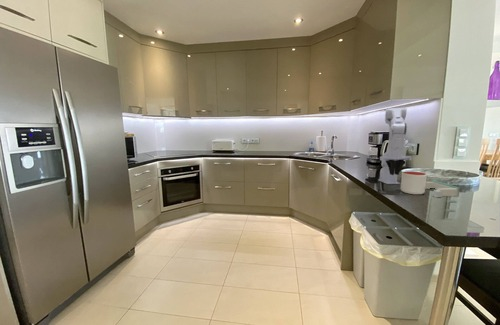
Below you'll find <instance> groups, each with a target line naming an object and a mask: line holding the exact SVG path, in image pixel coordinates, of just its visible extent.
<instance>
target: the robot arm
mask: <svg viewBox="0 0 500 325" xmlns="http://www.w3.org/2000/svg"><path fill="white" fill-rule="evenodd" d="M407 110H408V109H407V108H406V107H405V106H404V107H393V108H392V107H391V108H386V109H385V115H384V121H385V124H387V125H388V127H389V128H388V129H389V130H388V132H389V133H388V145H387V147H388V148H387V151H386V152H384V153H383V154H382V156H379V161H381V167H382V168H381V169H380V171H379V179H378V181H379V182H381V183H384V184H387V185H401V182H399V181H398V176H399V175H400V172H401V170H402V168H403V167H404V165H405V164H406V161H412V160H413V157H412V156H410V155H409V156H408V155H404V148H405V147H404V146H405V138H406V134H407V131H408V126H407V125H408V123H407V122H405V119H406V117H407Z"/></svg>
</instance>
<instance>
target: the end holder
mask: <svg viewBox="0 0 500 325" xmlns="http://www.w3.org/2000/svg"><path fill="white" fill-rule="evenodd" d="M430 188H435V189H434V190H439V191H442V197H459V196H460V191H461V190H460V187H459V186H455V185H452V184H448V183H445V182H441V181H439V180H435V179H434V180H432V181H426V186H425V190H427V189H429V190H430Z"/></svg>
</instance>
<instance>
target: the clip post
mask: <svg viewBox="0 0 500 325" xmlns="http://www.w3.org/2000/svg"><path fill="white" fill-rule="evenodd" d="M432 190H433V191H432V192H433V193H432V197H433V196H434V198H436V197H441V198H442V197H443V196H442V191H439V190H436V189H432Z"/></svg>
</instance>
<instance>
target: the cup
mask: <svg viewBox="0 0 500 325" xmlns="http://www.w3.org/2000/svg"><path fill="white" fill-rule="evenodd" d="M426 182H427V173H424V172H419V171H406V170H405V171H402V172H401V180H400V191H401V192H403V193H406V194H411V195H423V194H424V193H425V192H426V189H425V186H426Z"/></svg>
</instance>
